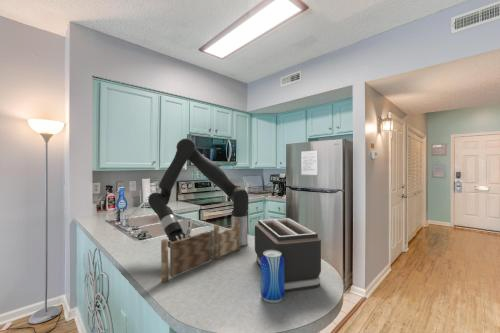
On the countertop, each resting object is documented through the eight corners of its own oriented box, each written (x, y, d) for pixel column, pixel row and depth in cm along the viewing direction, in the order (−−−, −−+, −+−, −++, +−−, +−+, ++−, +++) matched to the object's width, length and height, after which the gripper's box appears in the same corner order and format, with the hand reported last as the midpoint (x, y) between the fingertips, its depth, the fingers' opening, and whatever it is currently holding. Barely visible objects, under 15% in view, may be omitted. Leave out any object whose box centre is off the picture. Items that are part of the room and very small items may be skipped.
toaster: (288, 254, 126) (288, 216, 126) (324, 287, 92) (323, 235, 92) (253, 258, 121) (252, 218, 121) (277, 294, 87) (277, 239, 87)
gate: (212, 257, 119) (212, 229, 119) (215, 258, 117) (215, 230, 117) (170, 275, 100) (169, 242, 100) (172, 277, 99) (172, 243, 99)
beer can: (259, 291, 89) (259, 249, 89) (281, 290, 90) (281, 248, 89) (262, 305, 81) (262, 258, 80) (286, 303, 81) (286, 257, 81)
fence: (237, 248, 134) (236, 218, 133) (240, 249, 132) (240, 219, 132) (160, 281, 97) (159, 240, 97) (163, 283, 95) (163, 241, 95)
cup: (189, 236, 158) (188, 221, 158) (177, 235, 160) (177, 220, 160) (194, 232, 166) (194, 218, 166) (183, 231, 168) (183, 217, 167)
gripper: (161, 224, 110) (177, 256, 102) (185, 218, 120) (201, 248, 113) (155, 233, 113) (170, 265, 106) (179, 227, 123) (194, 256, 116)
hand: (186, 256), depth 109 cm, fingers closed
